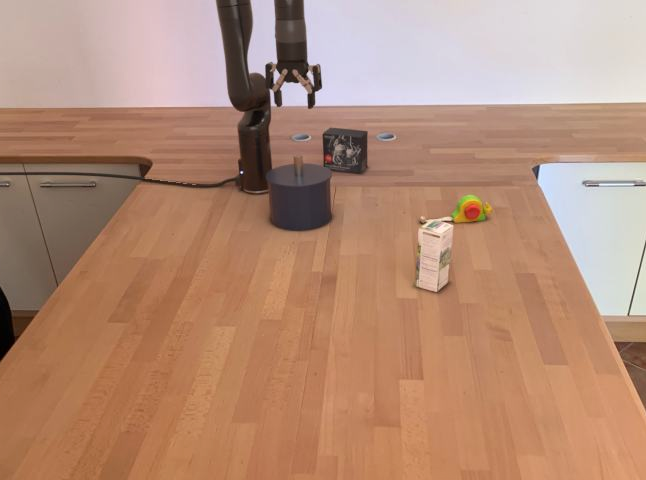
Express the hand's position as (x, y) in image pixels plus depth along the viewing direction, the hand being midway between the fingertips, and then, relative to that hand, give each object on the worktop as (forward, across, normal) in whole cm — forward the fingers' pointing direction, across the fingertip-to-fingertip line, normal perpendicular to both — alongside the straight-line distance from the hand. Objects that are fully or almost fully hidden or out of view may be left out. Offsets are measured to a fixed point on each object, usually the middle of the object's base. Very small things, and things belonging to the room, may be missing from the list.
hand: (294, 107), depth 179 cm
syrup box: (+30, -43, +28) cm, 60 cm away
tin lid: (+18, 0, 0) cm, 18 cm away
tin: (+30, 0, 0) cm, 30 cm away
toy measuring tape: (+30, -41, -10) cm, 52 cm away
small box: (+30, +1, -42) cm, 52 cm away
